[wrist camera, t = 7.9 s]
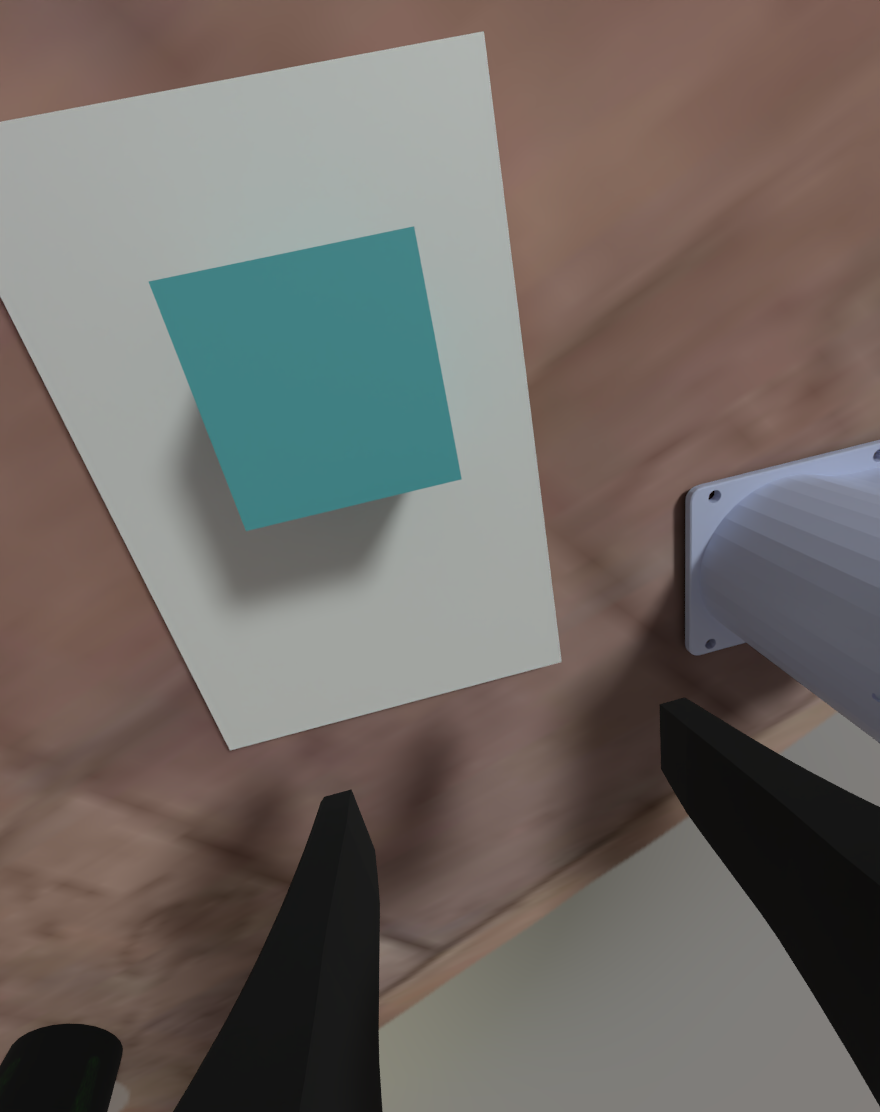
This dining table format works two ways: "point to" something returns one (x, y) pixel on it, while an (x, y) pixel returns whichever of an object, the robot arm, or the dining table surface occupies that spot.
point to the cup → (60, 1070)
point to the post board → (176, 424)
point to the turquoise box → (315, 375)
